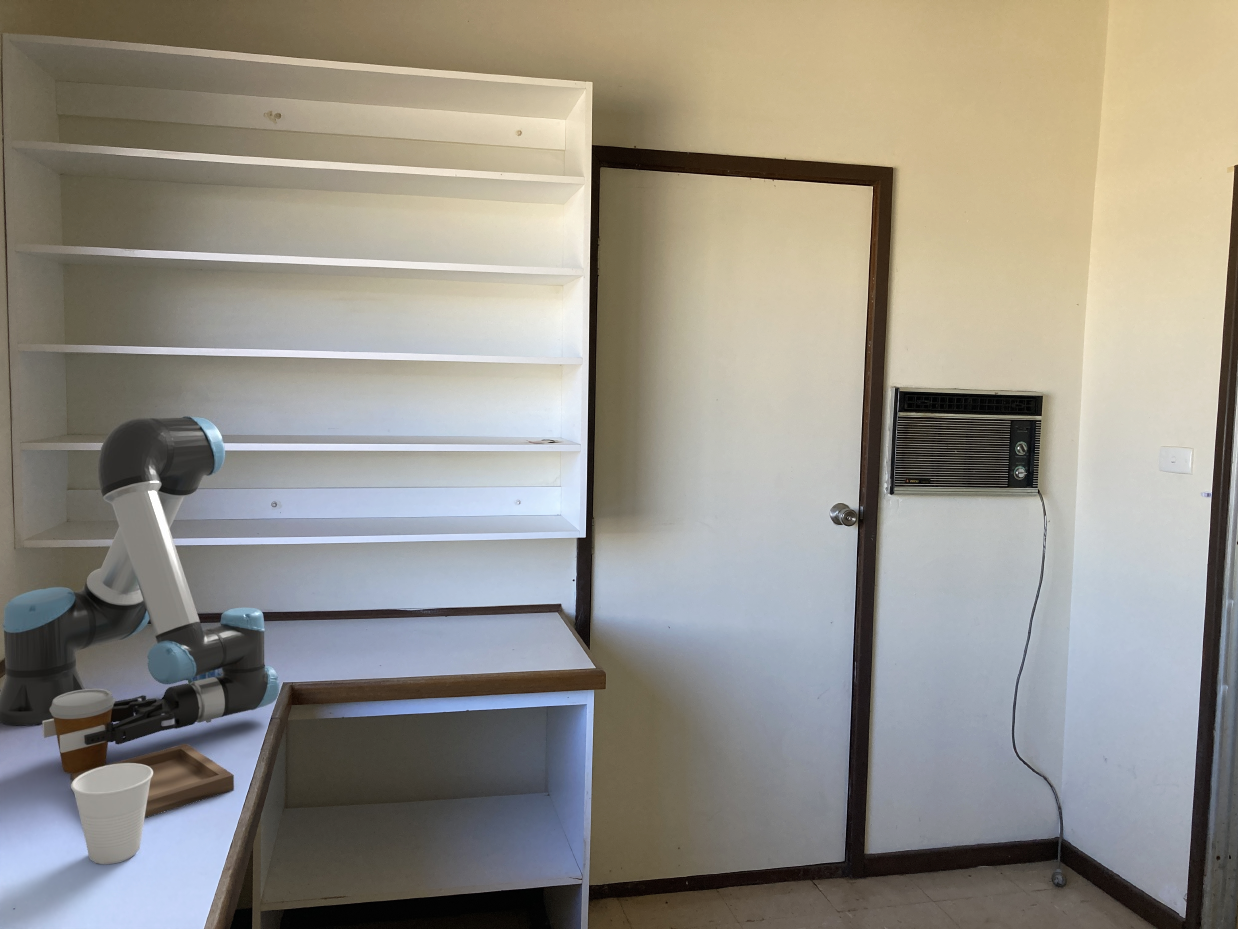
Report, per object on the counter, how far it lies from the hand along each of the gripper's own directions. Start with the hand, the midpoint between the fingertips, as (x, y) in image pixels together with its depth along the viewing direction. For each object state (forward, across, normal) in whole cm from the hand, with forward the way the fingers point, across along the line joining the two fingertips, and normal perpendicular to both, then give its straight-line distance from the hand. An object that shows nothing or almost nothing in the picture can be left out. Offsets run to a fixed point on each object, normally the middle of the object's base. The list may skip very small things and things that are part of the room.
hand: (52, 736), depth 151 cm
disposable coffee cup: (-5, 0, -7) cm, 8 cm away
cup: (+2, -34, -7) cm, 35 cm away
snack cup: (-35, +20, -7) cm, 41 cm away
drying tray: (-9, -17, -6) cm, 20 cm away
